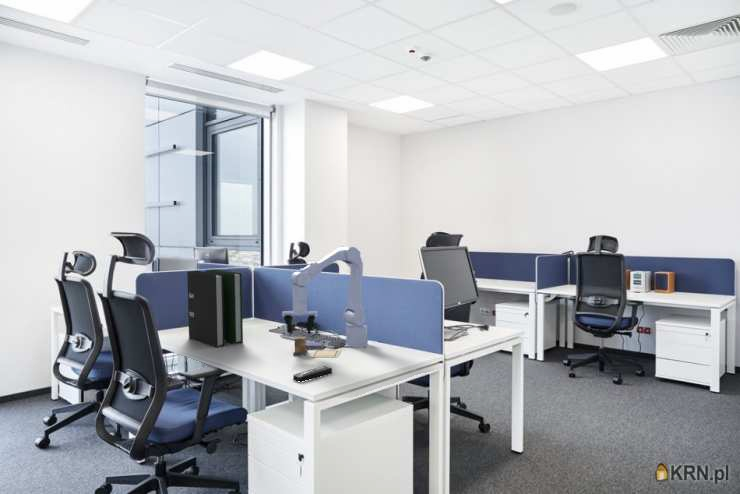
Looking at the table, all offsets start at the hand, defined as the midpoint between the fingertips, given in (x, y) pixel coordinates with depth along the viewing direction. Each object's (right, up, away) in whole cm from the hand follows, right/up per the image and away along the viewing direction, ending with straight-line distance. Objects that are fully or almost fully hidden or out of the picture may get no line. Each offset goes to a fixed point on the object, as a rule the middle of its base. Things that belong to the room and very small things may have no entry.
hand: (300, 333), depth 207 cm
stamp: (0, -9, 0) cm, 9 cm away
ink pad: (+5, -8, +11) cm, 14 cm away
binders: (-43, -8, +26) cm, 51 cm away
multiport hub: (+9, -11, -30) cm, 33 cm away
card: (+11, -9, +1) cm, 14 cm away
